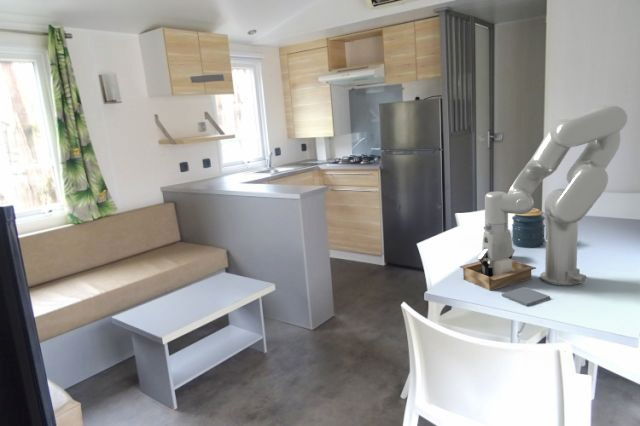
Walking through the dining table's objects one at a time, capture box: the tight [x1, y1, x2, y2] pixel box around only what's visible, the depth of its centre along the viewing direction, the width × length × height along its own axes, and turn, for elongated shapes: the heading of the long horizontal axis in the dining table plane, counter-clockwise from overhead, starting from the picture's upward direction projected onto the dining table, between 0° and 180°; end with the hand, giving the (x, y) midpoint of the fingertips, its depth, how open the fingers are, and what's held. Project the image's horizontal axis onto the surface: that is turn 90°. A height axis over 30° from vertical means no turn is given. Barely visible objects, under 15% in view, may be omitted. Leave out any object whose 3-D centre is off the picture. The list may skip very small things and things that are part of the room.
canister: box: [511, 207, 546, 248], centre depth 196 cm, size 13×13×18 cm
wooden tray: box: [459, 259, 537, 291], centre depth 161 cm, size 17×19×4 cm
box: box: [482, 258, 513, 276], centre depth 161 cm, size 9×5×8 cm, turn 24°
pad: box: [501, 286, 551, 307], centre depth 144 cm, size 10×10×1 cm
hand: (496, 274), depth 162 cm, fingers open, 6 cm apart
